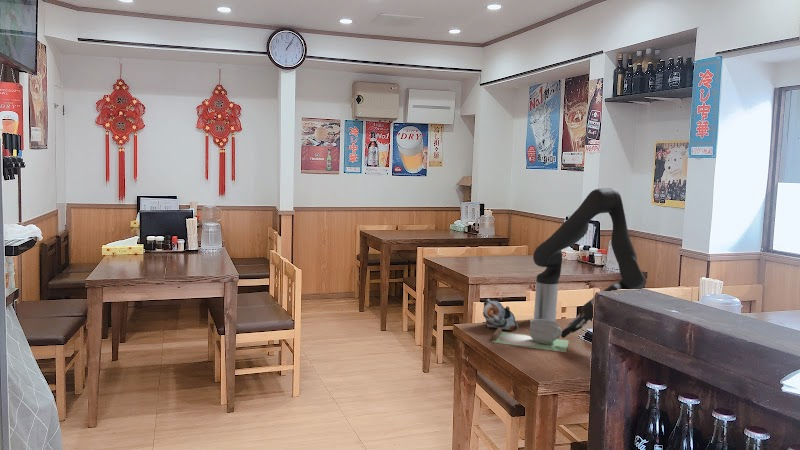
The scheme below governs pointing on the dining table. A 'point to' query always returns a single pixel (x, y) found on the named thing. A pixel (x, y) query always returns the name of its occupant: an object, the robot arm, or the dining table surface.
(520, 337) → the putting green
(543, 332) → the teacup
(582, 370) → the dining table surface
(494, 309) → the lucky cat figurine
